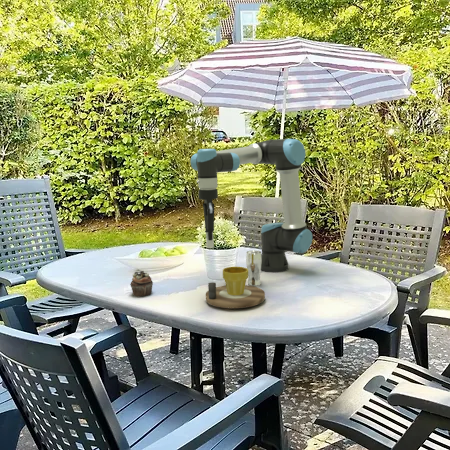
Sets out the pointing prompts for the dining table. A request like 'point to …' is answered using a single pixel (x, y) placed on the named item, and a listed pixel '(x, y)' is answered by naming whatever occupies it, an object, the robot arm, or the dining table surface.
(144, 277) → the cupcake
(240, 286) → the plant pot
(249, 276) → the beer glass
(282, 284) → the dining table surface
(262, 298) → the turntable
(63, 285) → the dining table surface
